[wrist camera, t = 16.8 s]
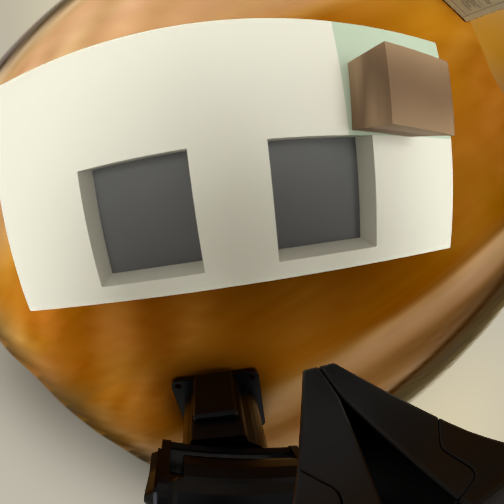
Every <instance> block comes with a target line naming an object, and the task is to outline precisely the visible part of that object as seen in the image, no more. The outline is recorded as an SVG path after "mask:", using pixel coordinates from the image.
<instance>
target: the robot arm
mask: <svg viewBox="0 0 504 504" xmlns="http://www.w3.org/2000/svg"><path fill="white" fill-rule="evenodd" d="M251 374H253V376H249V375H251ZM176 384H180V385H176ZM172 389H173V392H174V395H175V397H176V400H177V403H178V405H179V408H180V410H181V413H182V415H183V418H184V430H183V443H176V442H171V440H164V439H163V441H162V449H161V448H158V451H157V452H154V453H152V456H151V465H150V473H149V477H148V482H147V486H146V490H145V495H144V502H145V503H146V504H504V442H500V441H497V440H493V439H490V438H487V437H484V436H481V435H478V434H475V433H472V432H469V431H467V430H464V429H462V428H460V427H457V426H455V425H453V424H451V423H448V422H446V421H444V420H442V419H438V418H437V417H436V416H434V415H431V414H429V413H427V412H425V411H423V410H421V409H419V408H417V407H415V406H413V405H411V404H409V403H407V402H405V401H403V400H402V399H400V398H398V397H396V396H394V395H392V394H390V393H388V392H386V391H384V390H382V389H380V388H379V387H377V386H375V385H373V384H371V383H369V382H367V381H366V380H364V379H362V378H360V377H358V376H356V375H355V374H353V373H351V372H349V371H347V370H345V369H344V368H342V367H340V366H338V365H337V364H334V363H332V364H328V365H324V366H320V367H319V368H317V367H315V368H311V369H307V370H304V371H303V379H302V401H301V419H300V435H299V448H298V446H288V447H281V448H267V443H266V439H265V435H264V430H263V426H262V425H264V423H265V418H264V411H263V404H262V396H261V389H260V381H259V375H258V372H257V370H256V369H245V370H239V371H232V372H225V373H218V374H210V375H202V376H193V377H183V378H175V379H173V380H172Z"/></svg>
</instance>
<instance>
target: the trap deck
mask: <svg viewBox="0 0 504 504" xmlns="http://www.w3.org/2000/svg"><path fill="white" fill-rule="evenodd" d="M384 41H386V42H390V43H393V44H397V45H400V46H404V47H407V48H410V49H413V50H416V51H419V52H422V53H425V54H428V55H431V56H434V57H436V58H439V57H438V52H437V48H436V44H435V43H434V42H430V41H427V40H424V39H420V38H416V37H413V36H409V35H405V34H401V33H396V32H392V31H387V30H383V29H378V28H372V27H367V26H361V25H354V24H347V23H340V22H331V21H321V20H308V19H288V18H250V19H230V20H217V21H207V22H198V23H190V24H183V25H177V26H171V27H165V28H160V29H155V30H150V31H145V32H141V33H136V34H132V35H128V36H124V37H120V38H117V39H113V40H110V41H106V42H103V43H100V44H96V45H93V46H90V47H87V48H84V49H81V50H78V51H76V52H73V53H70V54H67V55H65V56H62V57H60V58H57V59H55V60H52V61H50V62H48V63H45V64H43V65H41V66H38V67H36V68H34V69H32V70H30V71H28V72H26V73H23V74H21V75H19V76H17V77H15V78H14V79H12V80H10V81H8V82H6V83H4V84H2V85H0V200H1V206H2V212H3V217H4V222H5V227H6V231H7V236H8V240H9V244H10V248H11V252H12V256H13V259H14V263H15V266H16V270H17V273H18V276H19V280H20V283H21V286H22V289H23V292H24V295H25V298H26V300H27V303H28V306H29V309H30V311H36V310H47V309H58V308H68V307H77V306H87V305H96V304H105V303H113V302H122V301H130V300H138V299H146V298H154V297H162V296H170V295H177V294H184V293H192V292H199V291H206V290H213V289H220V288H227V287H233V286H240V285H247V284H253V283H259V282H266V281H272V280H278V279H285V278H291V277H297V276H303V275H309V274H314V273H320V272H326V271H332V270H337V269H343V268H349V267H354V266H360V265H365V264H370V263H376V262H381V261H386V260H391V259H397V258H402V257H407V256H412V255H417V254H422V253H427V252H432V251H436V250H441V249H446V248H450V243H451V229H452V206H453V172H452V150H451V136H418V137H407V136H400V135H392V134H384V133H376V132H366V131H356V130H352V115H351V97H350V83H349V71H348V63H349V62H350V61H352V60H353V59H355V58H357V57H358V56H360V55H362V54H363V53H365V52H367V51H368V50H370V49H372V48H373V47H375V46H377V45H378V44H380V43H382V42H384Z"/></svg>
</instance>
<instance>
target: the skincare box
mask: <svg viewBox="0 0 504 504" xmlns="http://www.w3.org/2000/svg"><path fill="white" fill-rule="evenodd" d="M444 1H445V2H446V3H447V4H448V5H450V6H451V7H452V8H453V9H454V10H455V11H456V12H457V13H458V14H459V15H460V16H461V17H462V18H463V19H464V20H465V21H466V22H468V21H471V20H473V19H476V18H478V17H481V16H484V15H486V14H489V13H492V12H495V11H497V10H501V9H504V0H444Z"/></svg>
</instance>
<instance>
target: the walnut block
mask: <svg viewBox="0 0 504 504" xmlns="http://www.w3.org/2000/svg"><path fill="white" fill-rule="evenodd" d="M348 71H349V83H350V97H351V115H352V130H356V131H366V132H376V133H384V134H392V135H400V136H407V137H418V136H454V117H453V104H452V93H451V84H450V77H449V69H448V63H447V61H444V60H442V59H439V58H436V57H434V56H431V55H428V54H425V53H422V52H419V51H416V50H413V49H410V48H407V47H404V46H400V45H397V44H393V43H390V42H386V41H384V42H382V43H380V44H378V45H377V46H375V47H373V48H372V49H370V50H368V51H367V52H365V53H363V54H362V55H360V56H358V57H357V58H355V59H353V60H352V61H350V62H349V63H348Z"/></svg>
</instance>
